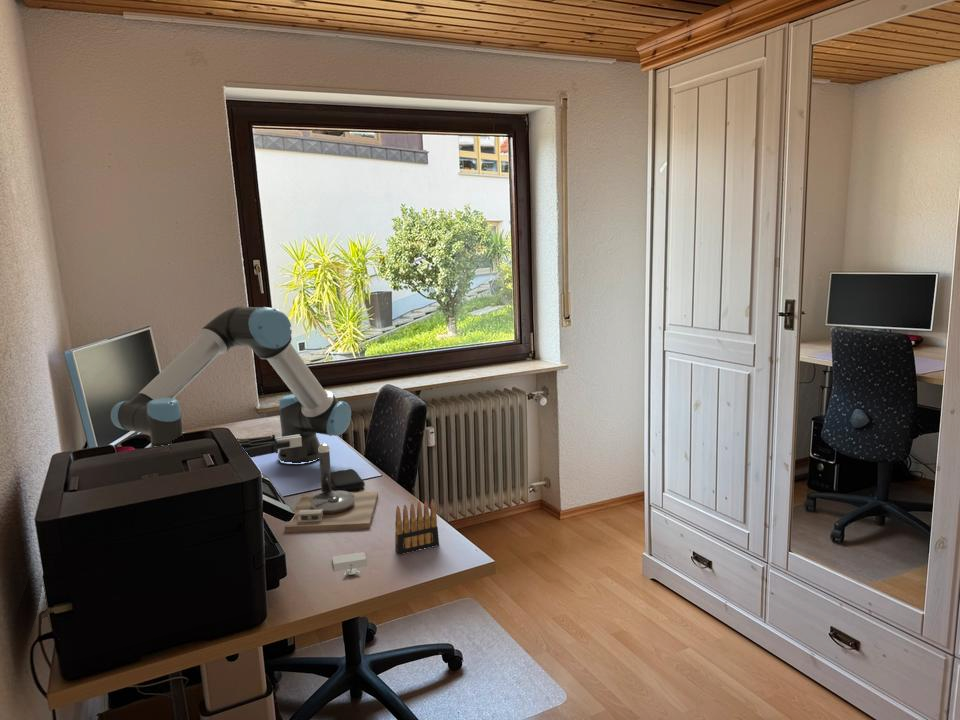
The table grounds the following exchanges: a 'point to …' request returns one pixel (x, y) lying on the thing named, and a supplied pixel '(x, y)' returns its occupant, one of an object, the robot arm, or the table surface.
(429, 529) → the ammunition clip
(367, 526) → the level stand
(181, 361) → the robot arm
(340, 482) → the carrying case or bag
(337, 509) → the grey rod on disc
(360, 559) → the white sign holder
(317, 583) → the table surface
